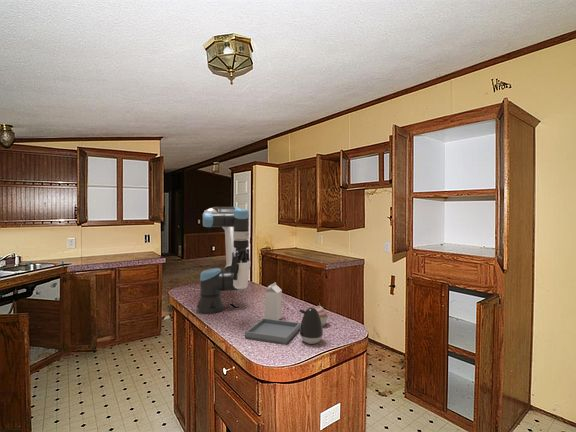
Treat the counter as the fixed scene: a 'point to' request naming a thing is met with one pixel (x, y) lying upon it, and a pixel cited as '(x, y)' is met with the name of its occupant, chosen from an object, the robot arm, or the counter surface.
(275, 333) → the tray
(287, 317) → the counter surface
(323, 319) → the cupcake
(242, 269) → the foam cup
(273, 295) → the milk carton
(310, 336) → the pump dispenser
